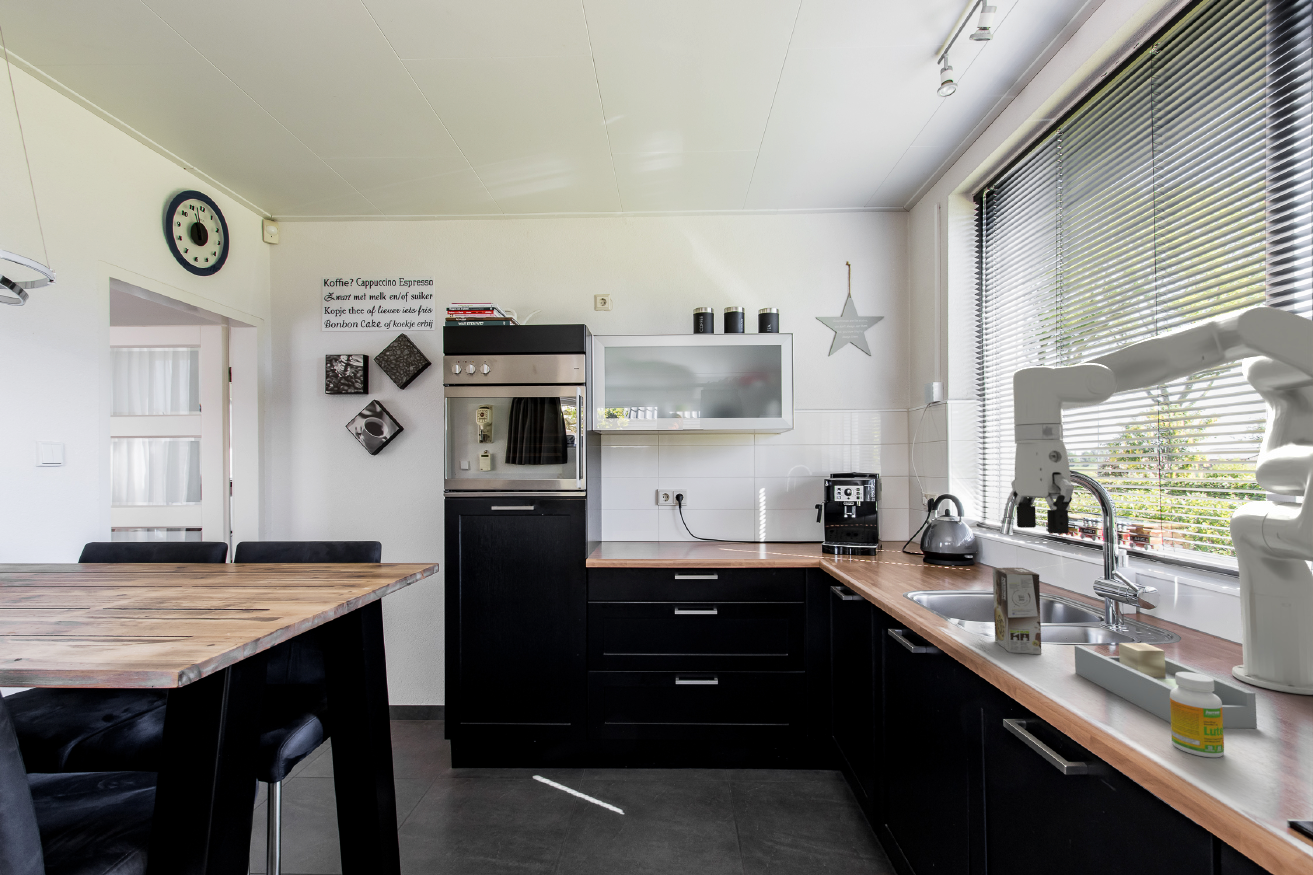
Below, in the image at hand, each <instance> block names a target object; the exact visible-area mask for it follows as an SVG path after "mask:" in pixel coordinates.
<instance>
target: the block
mask: <svg viewBox="0 0 1313 875" xmlns="http://www.w3.org/2000/svg"><path fill="white" fill-rule="evenodd" d="M1118 656H1119V660H1120V663H1121V664H1123V665H1126V666H1128V667H1130V668H1132V669H1135V670H1137V671H1139V672H1141V673H1143V674H1146V675H1148V676H1150V677H1152V678H1166V674H1165V657H1166V654H1165V650H1163V649H1161V648H1159V647H1156V646H1154V645H1151V644H1148V643H1147V642H1146V643H1145V642H1118Z"/></svg>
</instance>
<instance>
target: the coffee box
mask: <svg viewBox="0 0 1313 875" xmlns="http://www.w3.org/2000/svg"><path fill="white" fill-rule="evenodd" d="M1040 587H1041V586H1040V574H1039V573H1037V572H1034V571H1032V570H1029V569H1027V568H1024V567H992V589H993V590H992V591H993V593H992V594H993V618H994V641H995V642H996V643H997V644H998V645H999V646H1001V647H1002V648H1003V649H1004V650H1006V651H1007V652H1008V653H1013V654H1031V655H1041V654H1042V629H1041V628H1042V627H1041V626H1042V625H1041V594H1040V593H1041V591H1040V590H1041V589H1040Z"/></svg>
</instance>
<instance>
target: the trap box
mask: <svg viewBox="0 0 1313 875" xmlns="http://www.w3.org/2000/svg"><path fill="white" fill-rule="evenodd" d="M1074 667H1075V670H1074V671H1075V672H1074V673H1075V674H1077V675H1079V676H1080V677H1083V678H1084V679H1086V680H1089V681H1090V682H1092V683H1094V684H1096V685H1097V686H1099V687H1101V688H1104V690H1107V691H1108V692H1111V693H1113V694H1115V695H1117V696H1118V697H1121V698H1122V699H1124V700H1127V702H1130V703H1132V704H1134V705H1136V706H1137V707H1140V709H1141V708H1142V709H1143V710H1145V711H1147V712H1148V713H1151V714H1153V715H1154V716H1157V717H1159V718H1161V719H1162V720H1164V721H1166V722H1168V723H1170V724H1171V710H1170V692H1171V690H1172V689H1174V688H1177V687H1178V685H1177V684H1176V682H1175V679H1176V678H1175V674H1176V673H1177V672H1192V673H1198V674H1202V675H1206V676H1208V677H1211V678H1212V679H1213V680H1214V691H1212V693H1213V694H1215V695H1217V696H1218V697H1219V698H1220V699H1221V701H1222V712H1223V729H1257V728H1258V723H1257V722H1258V721H1257V718H1258V717H1257V702H1256V701H1257V700H1256V699H1257V698H1256V693H1255V692H1253V691H1251V690H1249V689H1246V688H1243V687H1241V686H1238V685H1236V684H1234V683H1231V682H1229V681H1226V680H1223V679H1220V678H1218V677H1215V676H1214V675H1211V674H1209V673H1206V672H1203V671H1201V670H1198V669H1196V668H1194V667H1190V666H1188V665H1185V664H1184V663H1181V662H1178V661H1175V660H1173V659H1170V658H1168V657H1166V656H1165V674H1166V678H1152V677H1150V676H1148V675H1146V674H1143V673H1141V672H1139V671H1137V670H1135V669H1132V668H1130V667H1128V666H1126V665H1123V664H1121V663H1120V660H1119V655H1118V656H1117V655H1116V656H1115V655H1114V656H1105V655H1103V654H1101V653H1099V652H1097V651H1095V650H1093V649H1090V648H1087V647H1085V646H1083V645H1081V644H1080V645H1079V644H1075V645H1074Z"/></svg>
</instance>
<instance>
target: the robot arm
mask: <svg viewBox="0 0 1313 875" xmlns="http://www.w3.org/2000/svg"><path fill="white" fill-rule="evenodd" d="M1242 360H1243V361H1242ZM1237 361H1242V367H1241V368H1242V374H1243V376H1244V379H1245V380H1246V381H1247V382H1248V383H1249V385H1250V386H1252V388H1253V389H1254V390H1255V391H1256V392H1257V393H1258V394H1259V395H1260V397H1261V398H1262V400H1263V401H1264V403H1265V406H1266V408H1267V412H1268V414H1267V415H1268V417H1267V422H1266V423H1267V424H1266V429H1265V432H1264V436H1263V440H1262V443H1261V447H1260V451H1259V454H1258V458H1257V462H1256V465H1255V472H1254V473H1255V480H1256V482H1257V484H1258V486H1260V487H1261V488H1262V489H1263V490H1265V491H1267V492H1270V493H1272V494H1275V495H1276V494H1277V495H1283V496H1293V497H1303V499H1302V502H1294V501H1281V500H1280V501H1279V500H1278V501H1277V500H1258V501H1256V500H1255V501H1251V502H1247V503H1245V504H1244V505H1243V504H1242V506H1240V507H1238V508H1237V509H1236V510H1234V512H1233V514H1232V516H1231V518H1230V521H1229V533H1230V538H1231V540H1232V545H1233V547H1234V551H1235V554H1236V560H1237V565H1238V576H1239V600H1240V617H1241V618H1240V619H1241V639H1242V640H1241V642H1242V663H1243V664H1240V665H1234V666H1233V667H1232V668H1231V674H1232V676H1234V677H1235V679H1237V680H1239V681H1241V682H1243V683H1247V684H1248V685H1249V684H1250V685H1253V686H1256V687H1258V688H1263V689H1268V690H1272V691H1278V692H1283V693H1289V694H1297V695H1307V696H1313V574H1312V571H1311V569H1310V567H1309V565H1308V564H1307V561H1308V562H1313V320H1312V319H1309V318H1307V317H1303V316H1301V315H1298V314H1296V313H1293V312H1291V311H1286V310H1284V309H1279V308H1276V307H1271V306H1265V305H1260V306H1259V305H1257V306H1255V305H1254V306H1250V307H1247V308H1243V309H1240V310H1235V311H1232V312H1229V313H1226V314H1222V315H1218V316H1215V317H1211V318H1209V319H1208V318H1207V319H1204V320H1202V321H1199V322H1196V323H1193V324H1190V325H1186V326H1184V327H1181V328H1178V329H1174V330H1171V331H1168V332H1165V333H1162V334H1160V335H1159V334H1158V335H1157V336H1154V337H1150V338H1146V339H1144V340H1141V341H1138V342H1135V343H1133V344H1130V345H1127V346H1125V347H1123V348H1120V349H1117V350H1115V351H1112V352H1109V353H1107V354H1103V355H1100V356H1097V357H1094V358H1092V359H1088V360H1085V361H1083V362H1079V363H1076V364H1074V365H1067V366H1059V367H1058V366H1055V367H1054V366H1051V365H1050V366H1049V365H1039V366H1038V365H1037V366H1028V367H1023V368H1020V369H1017V370H1016V371H1015V372H1014V373H1013V377H1012V395H1013V396H1012V397H1013V420H1014V421H1013V422H1014V423H1013V425H1014V431H1013V432H1014V444H1015V445H1016V447H1015V456H1014V459H1015V460H1014V479H1013V480H1012V481H1011V482H1010V484H1011V489H1012V492H1013V493H1012V495H1013V497H1014V506H1016V526H1017V528H1020V529H1021V528H1023V529H1024V528H1025V529H1026V528H1033V529H1034V528H1036V526H1037V522H1036V521H1037V519H1036V517H1037V516H1036V506H1035V505H1034V502H1035V501H1036V499H1044V500H1045V502H1046V503H1047V505H1048V507H1049V509H1046V515H1047V533H1049V534H1068V533H1069V510H1070V509H1071V507H1070V504H1071V502H1072V501H1073V498H1072V495H1073V492H1074V488H1075V487H1074V485H1073V483H1072V480H1071V479H1072V478H1071V471H1070V463H1069V457H1068V456H1069V455H1068V451H1067V446H1066V444H1065V441H1064V427H1063V426H1064V425H1063V423H1064V422H1063V410H1070V409H1076V408H1083V407H1091V406H1096V405H1099V404H1103V403H1104V402H1106V401H1108V400H1109V399H1110V398H1111V397H1113V396H1114V394H1118V393H1123V392H1128V391H1133V390H1139V389H1140V390H1141V389H1147V388H1151V387H1156V386H1159V385H1163V384H1168V383H1171V382H1174V381H1177V380H1179V379H1180V380H1181V379H1182V378H1183V379H1184V378H1185V377H1189V376H1192V375H1194V374H1198V373H1200V372H1203V371H1207V370H1211V369H1213V368H1216V367H1219V366H1222V365H1226V364H1230V363H1232V362H1237Z"/></svg>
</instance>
